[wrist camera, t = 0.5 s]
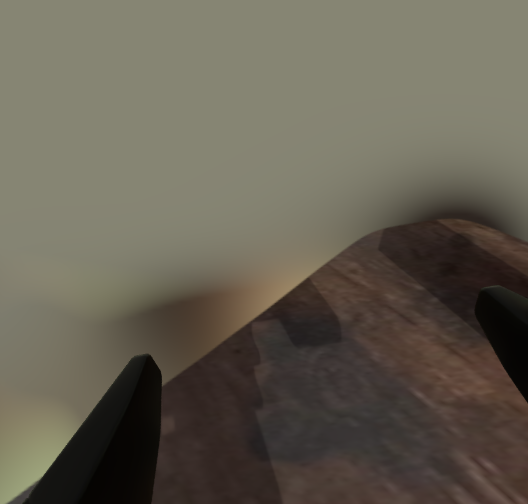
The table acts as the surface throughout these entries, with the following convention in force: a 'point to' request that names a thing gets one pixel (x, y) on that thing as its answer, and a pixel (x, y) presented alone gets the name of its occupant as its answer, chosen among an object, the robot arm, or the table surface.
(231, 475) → the table surface
